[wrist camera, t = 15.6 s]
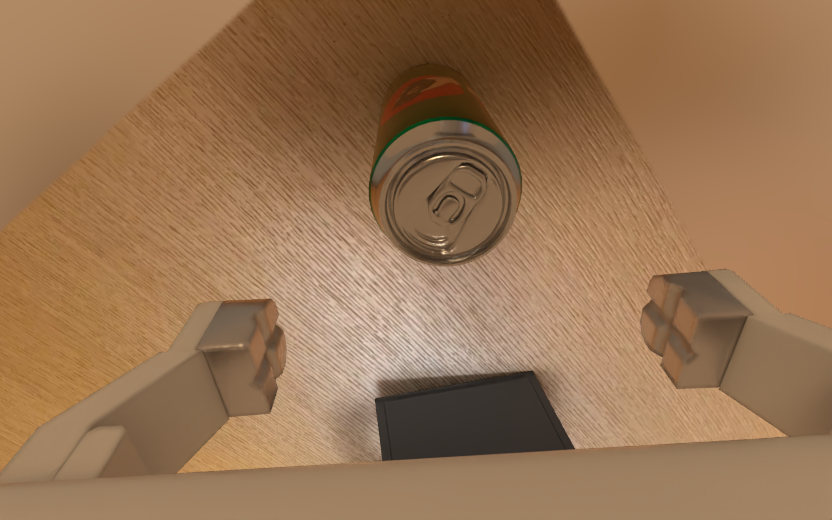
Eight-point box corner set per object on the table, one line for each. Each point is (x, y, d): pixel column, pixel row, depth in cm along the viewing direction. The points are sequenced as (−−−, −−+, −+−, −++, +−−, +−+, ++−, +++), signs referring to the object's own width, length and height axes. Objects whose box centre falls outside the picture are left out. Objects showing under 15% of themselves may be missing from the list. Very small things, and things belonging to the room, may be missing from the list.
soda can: (364, 128, 25) (337, 231, 14) (414, 40, 23) (424, 90, 12) (442, 175, 26) (466, 299, 16) (496, 97, 24) (564, 184, 14)
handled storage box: (533, 370, 34) (600, 495, 26) (522, 475, 41) (573, 601, 33) (316, 408, 33) (313, 556, 24) (341, 511, 39) (346, 655, 31)
